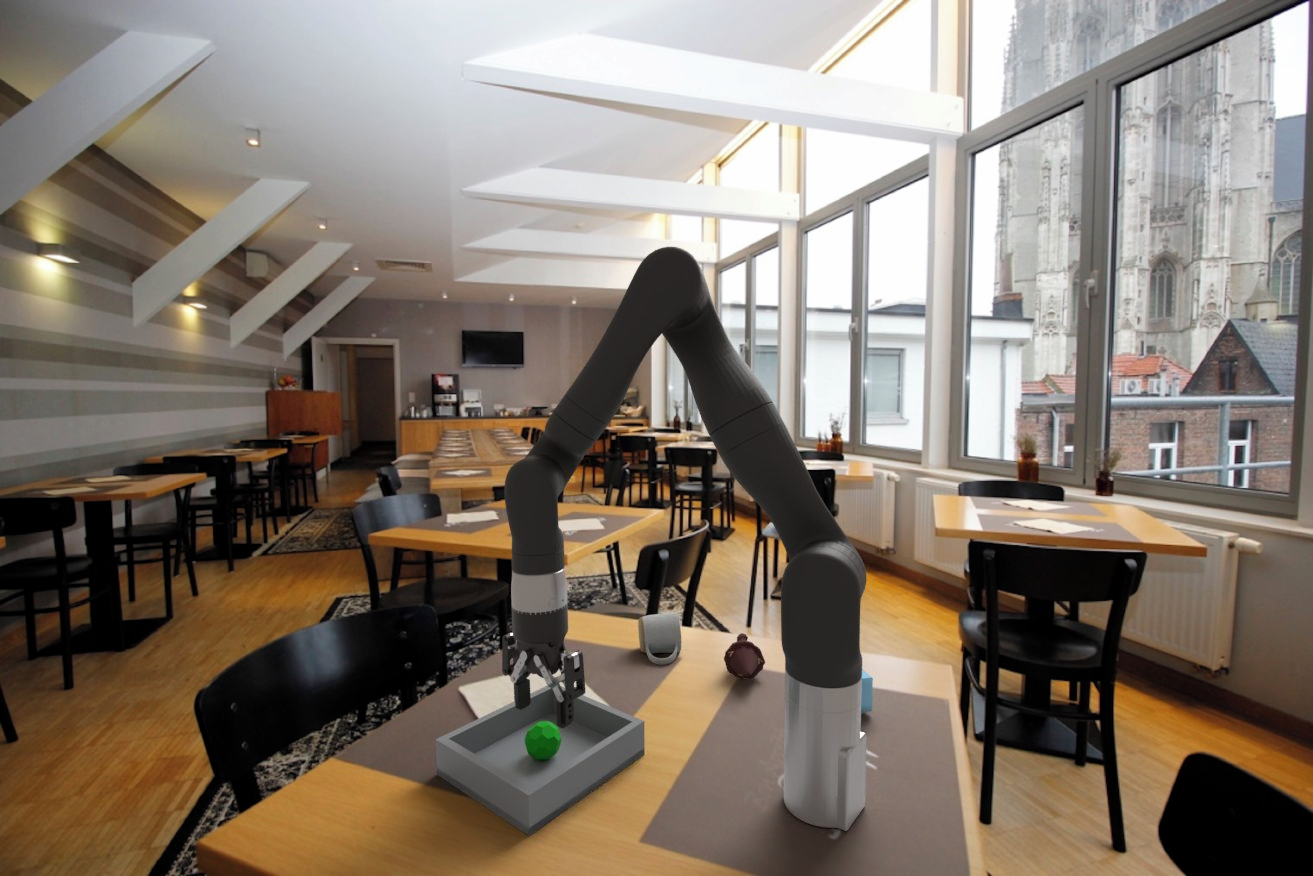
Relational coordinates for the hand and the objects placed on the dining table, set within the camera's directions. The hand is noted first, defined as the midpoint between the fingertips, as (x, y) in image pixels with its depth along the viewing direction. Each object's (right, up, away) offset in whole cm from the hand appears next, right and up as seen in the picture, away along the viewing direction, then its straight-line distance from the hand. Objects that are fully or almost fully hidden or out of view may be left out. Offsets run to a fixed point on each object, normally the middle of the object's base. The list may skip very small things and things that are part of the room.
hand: (543, 715), depth 87 cm
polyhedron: (0, -6, +1) cm, 7 cm away
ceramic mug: (+17, -5, +38) cm, 42 cm away
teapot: (+46, -6, +18) cm, 50 cm away
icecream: (+32, -5, +28) cm, 43 cm away
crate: (0, -7, +1) cm, 7 cm away
